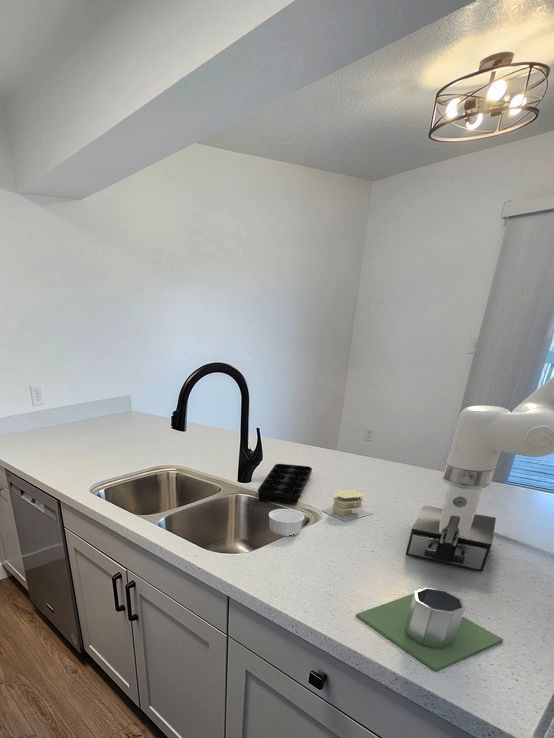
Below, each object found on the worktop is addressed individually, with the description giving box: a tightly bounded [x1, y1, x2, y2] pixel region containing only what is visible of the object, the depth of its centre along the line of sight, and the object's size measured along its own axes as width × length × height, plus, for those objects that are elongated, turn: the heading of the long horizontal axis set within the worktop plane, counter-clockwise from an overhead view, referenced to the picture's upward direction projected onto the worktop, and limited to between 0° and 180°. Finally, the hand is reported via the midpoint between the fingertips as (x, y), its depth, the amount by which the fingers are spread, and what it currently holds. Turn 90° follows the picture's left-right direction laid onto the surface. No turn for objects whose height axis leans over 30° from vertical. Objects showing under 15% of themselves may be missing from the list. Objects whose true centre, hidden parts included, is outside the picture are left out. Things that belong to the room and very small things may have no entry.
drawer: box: [408, 533, 487, 570], centre depth 97 cm, size 19×13×5 cm
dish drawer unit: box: [405, 505, 497, 573], centre depth 100 cm, size 16×15×7 cm
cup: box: [406, 587, 466, 648], centre depth 73 cm, size 7×7×8 cm
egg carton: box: [257, 463, 313, 505], centre depth 141 cm, size 18×30×4 cm, turn 166°
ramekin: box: [268, 508, 305, 537], centre depth 114 cm, size 9×9×4 cm
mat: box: [355, 593, 504, 673], centre depth 77 cm, size 16×16×1 cm
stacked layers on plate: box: [320, 489, 373, 522], centre depth 122 cm, size 10×9×6 cm
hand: (443, 559), depth 90 cm, fingers closed
